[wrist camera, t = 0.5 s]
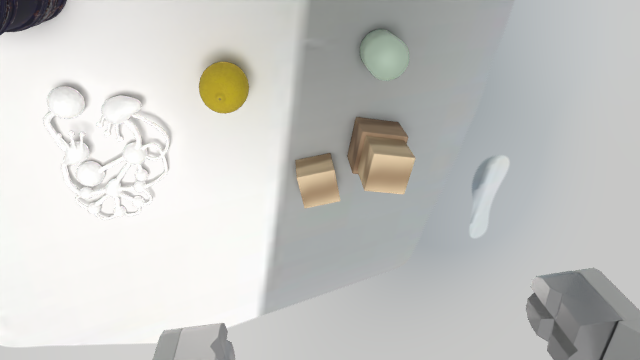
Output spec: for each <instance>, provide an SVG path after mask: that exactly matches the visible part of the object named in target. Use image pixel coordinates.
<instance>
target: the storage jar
mask: <svg viewBox="0 0 640 360" xmlns="http://www.w3.org/2000/svg"><path fill="white" fill-rule="evenodd" d="M66 1H67V0H0V35H1V34H3V33H4V32H17V31H22V30H25V29H28V28H30V27H33V26H36V25H39V24H40V23H42V22H45V21H47V20H50V19H52V18H54V17H55V16H57V15H58V14H59V13H60V12H61V11H62V9H63V8H64V6H65V4H66Z"/></svg>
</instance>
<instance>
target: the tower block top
mask: <svg viewBox="0 0 640 360" xmlns="http://www.w3.org/2000/svg"><path fill="white" fill-rule="evenodd" d="M414 161H415V157H414V155H413V153H412V152H411V150H410V149H409V147H408V146H407V144H406V143H405V141H404V140H400V139H391V138H382V137H374V136H366V137H365V141H364V145H363V149H362V153H361V157H360V162H359V166H358V170H357V171H358V173H359V176H360V179H361V182H362V185H363V188H364V190H365V191H374V192H385V193H396V194H404V193H405V190H406V186H407V183H408V180H409V177H410V174H411V171H412V168H413V165H414Z"/></svg>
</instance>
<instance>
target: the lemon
mask: <svg viewBox="0 0 640 360" xmlns="http://www.w3.org/2000/svg"><path fill="white" fill-rule="evenodd" d="M248 91H249V84H248V80H247V77H246V75H245V73H244V72H243V71H242V70H241V69H240V68H239V67H238V66H236V65H234V64H232V63H229V62H218V63H214V64H212V65H211V66H209V67H208V68H207V69H206V70H205V71H204V72H203V74H202V76H201V78H200V83H199V92H200V96H201V98H202V100H203V102H204V103H205V105H206V106H207V107H209V108H210V109H211V110H213V111H215V112H218V113H230V112H233V111H235V110H237V109H238V108H240V107H241V106H242V105H243V103H244V102H245V101H246V98H247V96H248Z"/></svg>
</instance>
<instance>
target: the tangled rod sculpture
mask: <svg viewBox="0 0 640 360" xmlns="http://www.w3.org/2000/svg"><path fill="white" fill-rule="evenodd" d="M47 105H48V107H49V109H50V110H51V111H50V112H49V113H47V114H46V115H45V117H44V120H43V122H44V126H45V127H46V129H47V130H48V132H49V133H50V135H51V136H52V137H53V139H54V140H55V142H56V144H57V145H58V146H59V147H60V148H61V149H62V150H63V151H64V152H65V156H64V159H63V162H62V164H61V170H62V174H63V179H64V181H65V183H66V184H67V186H68V187H69V188H70V189H71V190H72V191H73V192H74V193H76V194H77V196H76V197H75V201H76V203H77V204H78V205H79V206H81V207H83V208H85V209H87V211H88V212H89V213H90V214H94V215H95V216H96V217H97V218H99V219H101V220H109V219H112V218H114V217H123V216H124V215H125V216H134V215H137V214H138V213H140V211H141V207H142V206H143V205H148V204H150V203H151V202H152V200H153V198H152V195H151V194H150V193H149V192H148V191H147V190H146V189H147V188H148V187H150V186H152V185H154V184H155V183H157V182H159V181H160V180H162V179H163V178H164V177H165V176H166V174H167V172H168V165H167V161H166V157H165V154H166V152H167V150H168V148H169V144H170V140H169V137H168V134H167V133H166V132H165V131H164V129H162V128H161V127H160V126H158V125H157V124H155V123H154V122H152V121H150V120H148V119H146V118H145V117H142V116H139V115H136V114H135V113H136V112H138V111H139V110H140V109H141V107H142V106H141V102H140V101H139V100H138V99H135V98H132V97H128V96H123V95H119V96H115V97H112V98H109V99H108V100H106V101H105V102H104V104H103V105H102V117H101V119H100V122H97V124H96V126H97V127H98V128H101V127H103V121H104V119H105V120H106V121H107V122H108V126H107V130H106V131H105V132H104V135H105V136H107V137H108V136H110V135H111V132H110V128H111V123H112V124H116V125H115V132H116V136H117V138H116V140H117V141H118V142H122V141H123V138H122V137H121V136H120V135H119V130H118V127H119V124H122V123H124V124H126V125H127V126H128V127H129V128H130V129H131V130H132V132H133V134H134V136H135V139H136V142H133V143H129V144H127V145H126V146H125V147H124V149H123V156H122V157H120V158H118V159H116V160H114V161H112V162H110V163H109V164H107V165H105V166H103V167H102V166H101V165H100V164H98V163H96V162H93V161H87V162H84V161H85V160H86V159H87V158H88V157H89V154H90V151H89V148H88V146H87V145H86V144H84V143H83V137H84V136H85V132H80V133H79V135H80V142H79V141H74V139H73V136H74V135H75V133H74V132H73V131H69V132H68V134H69V136H70V139H71V142H70V143H69V144H67V143H66V142H65V140H64V139H63V138H62V134H61V133H57V132H56V131H55V129H54V128H53V127H52V125H51V122H50V121H51V119H52V118H53V117H54V116H58V117H60V118H64V119H71V118H75V117H77V116H79V115H80V114H81V113H82V112H83V110H84V107H85V102H84V98H83V96H82V95H81V94H80V92H78V91H77V90H75V89H73V88H71V87H67V86H61V87H57V88H55V89H53V90H52V91H51V92H50V93H49V94H48V97H47ZM130 117H134V118H137V119H140V120H142V121H144V122H146V123H148V124H150V125H152V126H153V127H155V128H156V129H158V130H159V131H160V132H161V133H162V134H163V135H164V137H165V139H166V146H165V149H164V151H162V149H161V148H160V147H159V146H158V145H156V144H152V143H150V144H146V145H144V146H143V145H142V138H141V135H140V133H139V130H138V128H137V127H136V126H135V125H134V124H133V123H132V122H131V121H130V120H128V119H129V118H130ZM148 147H155V148H156V149H157V150H158V151H159V153H160V154H161V155H159V156H158V157H150V156H148V155H147V154H148V152H147V149H146V148H148ZM161 158H162V160H163V164H164V173H163V174H162V175H161V176H160V177H159V178H157V179H156V180H154V181H153V182H151V183H149V184H146V183H145V182H144V181H145V180H146V179H147V178H148V172H147V171H146V170H145V169H142V166H141V164H142V163H143V162H144V161H145V160H146V159H148V160H159V159H161ZM124 160H125V161H126V162H127V163H126V165H125V166H124V168H123V169H122V171H121V172H120V173H119V175H118V176H117V178H115V179H112V180H110V181H109V183H108V184H107V185H106V187H105V188H103V189H99V190H96V191H93V189H92V188H90V187H83V188H82V189H81V190H80V189H78V188H77V187H76V186H75V185H74V184H73V182H72V181H71V179H70V177H69V172H68V168H67V166H68V165H71V166H74V165H77V164H79V163H81V162H84V163H82V164H80V165H79V166H78V168H77V169H76V178H77V180H78V181H79V182H80V183H81V184H82V185H85V186H91V187H92V186H96V185H98V184H100V183H101V182H102V181H103V179H104V177H105V170H107V169H109V168H111V167H113V166H115V165H117V164H119V163H121V162H123V161H124ZM131 165H136V166H137V169H138V170H137V171H136V172H135V178H136V179H137V180H138V181H136V182H135V183H134V186H128V187H121V185H120V183H121V182H120V180H121V179H122V177H123V176H124V175H125V173H126V172H127V170H128V169H129V167H130V166H131ZM131 190H135V191H136V192H139V193H141V192H144V193H146V194H147V195H148V196H149V201H148V202H145V200H144V198H143V197H141V196H135V197H131V196H128V195H126V194H123V193H122V191H131ZM102 193H106V194H105V195H104V196H103V197H102V198H100V199H99V200H98V201H97V202H92V203H90V204H89V205H88V206H86V205H84V204H82V203H81V202H80V201H79V198H80V197H81V198H83V199H90V198H92V196H94V195H98V194H102ZM109 197H112V198H114V200H115V208H114V210H113V213H114V214H113V215H112V216H109V217H102V216H100V215H99V214H98V213H99V212H100V210H101V206H100V204H101V203H103V202H104V201H105V200H106V199H108V198H109ZM119 197H122V198H125V199H127V200H130V201H132V205H133V206H134V207H137V208H138V211H136V212H134V213H126V208H125V207H124V206H120V199H119Z"/></svg>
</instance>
